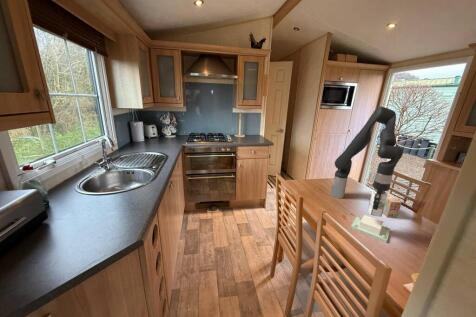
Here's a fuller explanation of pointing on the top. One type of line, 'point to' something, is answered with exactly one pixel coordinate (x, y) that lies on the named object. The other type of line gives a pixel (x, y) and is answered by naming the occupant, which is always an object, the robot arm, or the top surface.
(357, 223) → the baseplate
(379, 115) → the robot arm
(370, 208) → the white tall block
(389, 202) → the cardboard box
